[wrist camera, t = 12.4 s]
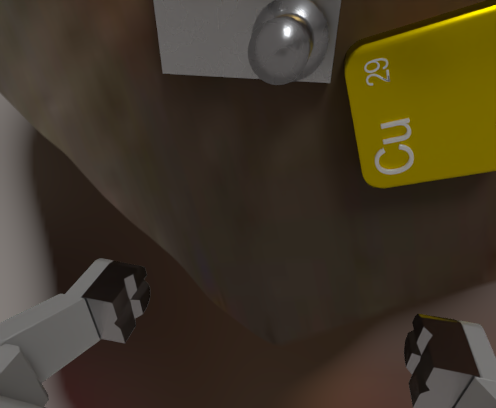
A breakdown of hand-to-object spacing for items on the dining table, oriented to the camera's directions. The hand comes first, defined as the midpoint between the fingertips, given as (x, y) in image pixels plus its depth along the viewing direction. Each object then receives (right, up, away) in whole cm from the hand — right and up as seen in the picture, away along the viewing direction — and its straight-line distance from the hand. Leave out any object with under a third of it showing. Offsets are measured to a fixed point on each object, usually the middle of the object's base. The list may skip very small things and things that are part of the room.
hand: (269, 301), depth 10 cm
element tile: (+18, +14, +25) cm, 34 cm away
